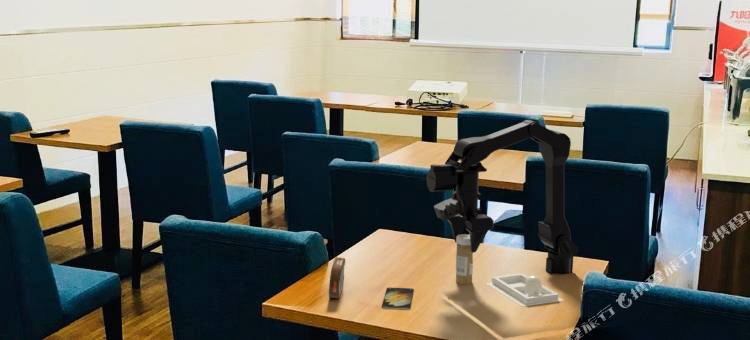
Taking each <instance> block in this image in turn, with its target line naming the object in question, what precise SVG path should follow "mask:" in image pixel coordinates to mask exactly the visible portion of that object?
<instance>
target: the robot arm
mask: <svg viewBox="0 0 750 340" xmlns="http://www.w3.org/2000/svg"><path fill="white" fill-rule="evenodd" d="M528 139H532V140H533V141H535V142H537V143H538V145H539V150H540V155H541V157H542V159H543V161H544V164H545V217H544V219H543V221H538V222H537V223H538V224H537V225H538V226H537V227H538V233H537V236H538V237H539V239H540V241H541V243H543V245H544V248H545V249H546V250H548V252H547V257H546V258H545V259H546V261H545V272H547V273H549V274H551V275H552V274H554V275H556V274H557V275H569V274H573V275H575V276H577V274H576V273H575V272H573V271H574V270H573V269H574V257H577V255H578V253H579V250H580V249H579V247H578V246H577V245H576V244H575V243H574V242H573V241H572V238H571V231H570V230H571V229H570V227H569V225H568V222H567V220H566V217H565V164H566V162H567V160H568V158H569V156H570V153H571V152H570V151H571V146H572V142H571V138H570V137H569V136H568V135H567V134H566V133H562V132H560V131H557V130H552V129H549V128H547V127H545V126H544V125H542V124H540V123H539V122H538V121H534V120H531V119H525V120H523V121H522V122H519V123H517V124H514V125H511V126H510V127H506V128H504V129H500V130H498V131H496V132H493V133H490V134H488V135H483V136H473V137H468V138H461V139H459V140H458V141H457V142H455V145H454V146H453V147H454V148H453V151H452V152H451V154H450V155H449V156H448V157H447V159H446V161H445V163H444V164H430V169H429V170H428V172H427V175H426V186H427V189H428V191H429V192H431V193H432V192H446V191H447V192H448V191H452V193H451V198H448V199H445V200H443V201H440V202H439V203H437V204H435V205H434V206H433V208H434V211H435V213H436V217H437V218H438V219H440V220H441V221H444V222H445V221H448V222H449V225H450V226H449V227H450V229H451V232H452V236H453V240H454V242H455V243H456V237H457V236H458V235H461V234H463V232H464V229H465V230H466V231H467V232H468V233H469V235H470V243H471V252H472V253H473V254H474V253H476V252H477V250H478V249H479V247H480V246H481V243H482V241H483V239H484V238H485V237H486V235H487V233H489V231H491V230H493V228H494V224H495V223H494V219H493V218H492V217H491V216H489V215H487V214H485V213H483V214H481V211H482V209H480V208H479V206H478V204H479V199H481V198H482V193H480V192H479V178H480V177H479V174H480V173H485V172H488V169H487V168H486V167H484V165H483V164H482V161H484V160H486V159H487V158H488V157H489V156H490V155H492V154H493V153H494V152H497V151H498V150H501V149H504V148H506V147H507V148H508V147H509V146H512V145H515V144H517V143H521V142H523V141H525V140H528ZM454 189H455V191H454ZM465 226H466V227H465ZM464 227H465V228H464Z"/></svg>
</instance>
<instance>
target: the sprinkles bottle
mask: <svg viewBox="0 0 750 340" xmlns="http://www.w3.org/2000/svg"><path fill="white" fill-rule="evenodd" d="M455 243H456V253H455V282H456V283H457V284H459V285H470V284H472V283H473V269H474V266H473V264H474V259H473V257H474V256H473V254H474V253H472V252H471V243H470V234H467V233H462V234H461V235H458V236H457V237H456V242H455Z"/></svg>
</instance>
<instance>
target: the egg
mask: <svg viewBox="0 0 750 340" xmlns="http://www.w3.org/2000/svg"><path fill="white" fill-rule="evenodd" d="M541 283H542V282H541V280H540V278H539V276H537V275H530V276H528V278H527V280H526V283H525V286H524V290H525V293H526V294H527V295H528V296H530V297H531V296H538V295H540V294H541V292H542V285H543V284H542V285H541Z"/></svg>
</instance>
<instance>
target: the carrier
mask: <svg viewBox="0 0 750 340" xmlns="http://www.w3.org/2000/svg"><path fill="white" fill-rule="evenodd" d="M528 277H529V276H528V275H525V274H524V273H515V274H506V275H505V274H504V275H499V276H498V275H497V276H492V277H491V278H492V279H491V281H490V282H486V284H487V285H488V286H489V287H491V288H493V289H494V290H496V291H498V292H499V293H501V294H502V295H503V296H506V297H507V298H508V299H510V300H511V301H513V302H515V303H516V304H518V305H519V306H521V307H530V306H536V305H537V306H538V305H541V304H550V303H551V304H552V303H556V302H564V301H565V299H563V298H561V297H559V294H558V293H557V292H555V291H553V290H552V289H550V288H548V287H547V286H545V285H543V284H541V285H542V292H541V294H540V295H538V296H531V297H530V296H528V295H527V294H526V293H525V290H524V286H525V283H526V280H527V278H528Z"/></svg>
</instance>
